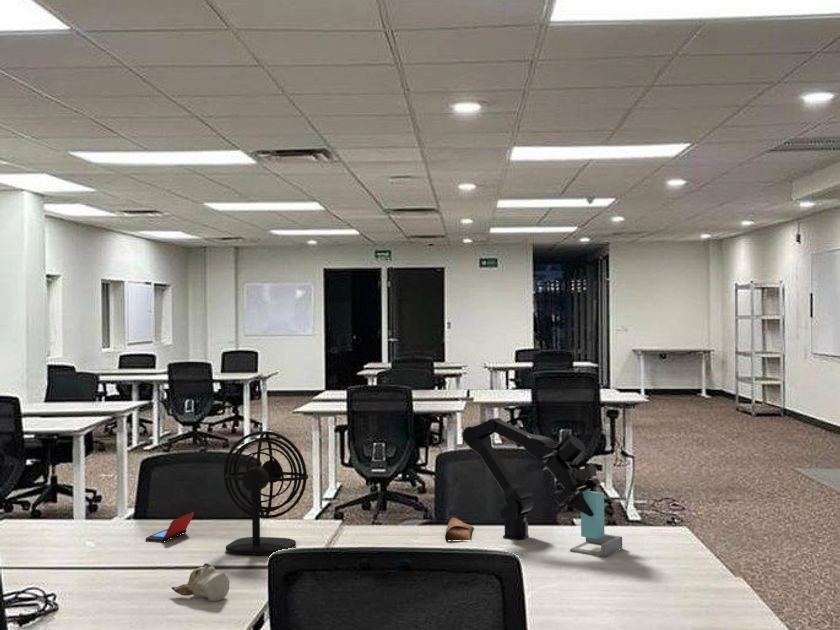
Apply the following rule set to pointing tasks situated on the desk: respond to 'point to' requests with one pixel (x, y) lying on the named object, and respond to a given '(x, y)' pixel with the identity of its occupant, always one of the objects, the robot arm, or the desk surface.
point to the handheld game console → (172, 529)
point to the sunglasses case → (458, 530)
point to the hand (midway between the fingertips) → (596, 514)
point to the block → (594, 524)
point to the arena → (600, 546)
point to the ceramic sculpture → (205, 584)
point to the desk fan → (257, 481)
